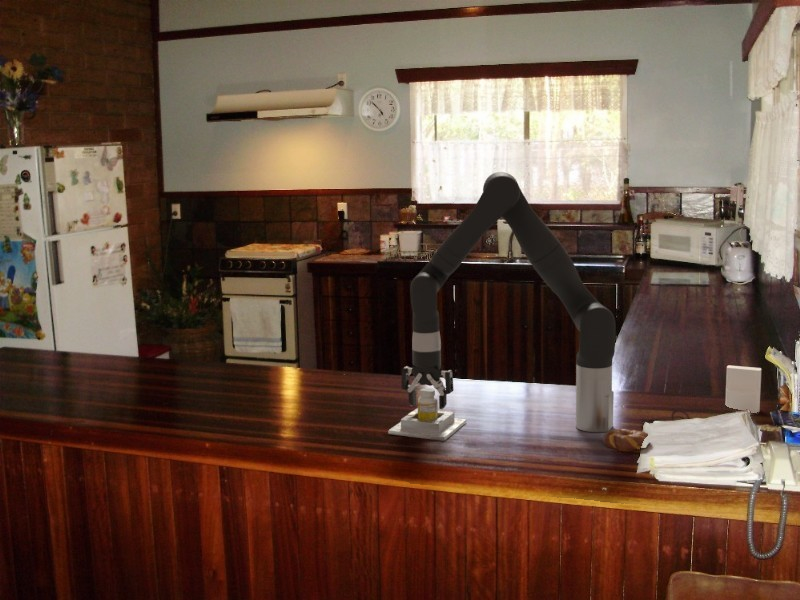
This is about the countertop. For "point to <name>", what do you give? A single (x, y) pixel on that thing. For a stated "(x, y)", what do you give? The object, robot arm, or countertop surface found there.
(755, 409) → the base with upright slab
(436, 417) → the supplement bottle
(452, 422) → the white square holder
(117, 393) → the countertop surface
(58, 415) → the countertop surface
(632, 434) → the pretzel
